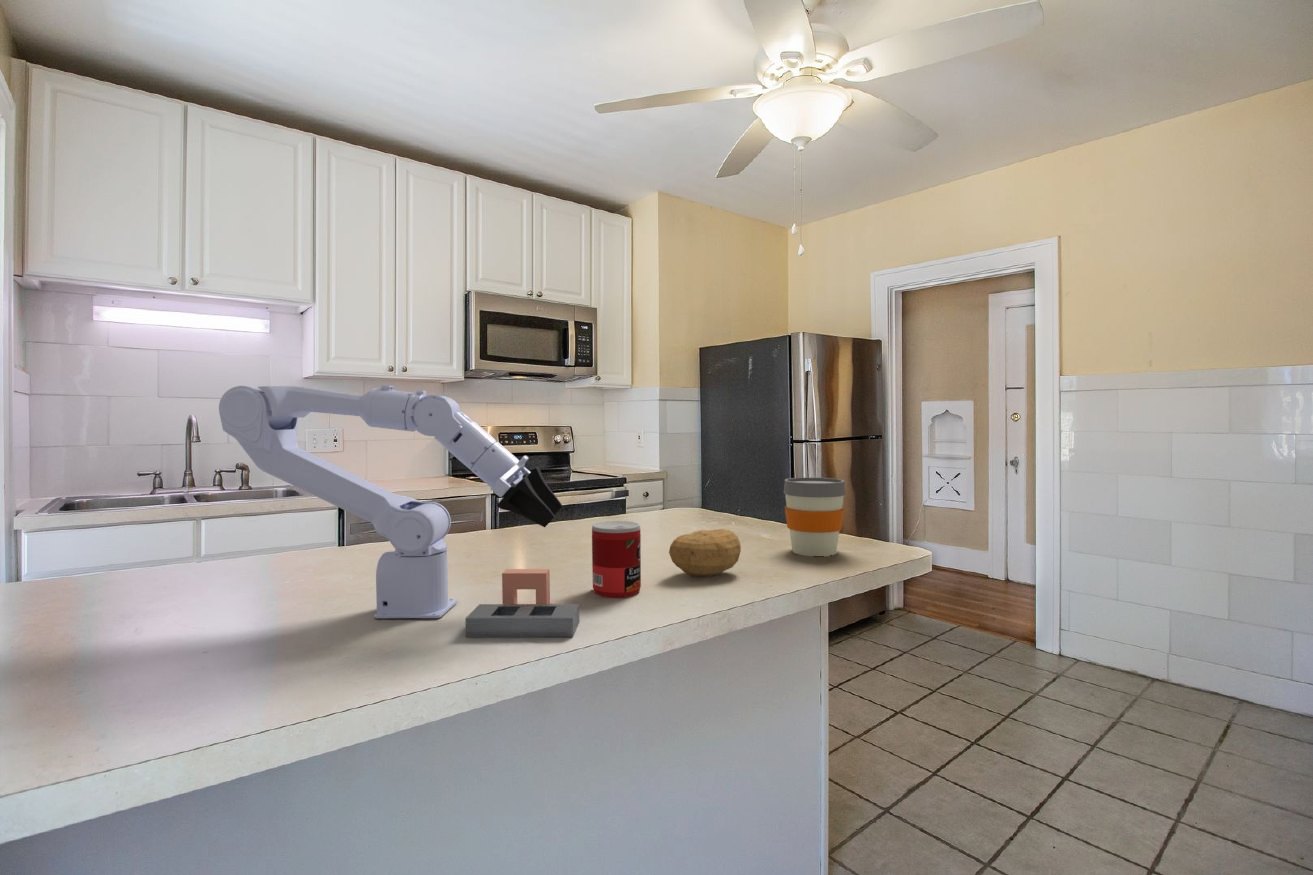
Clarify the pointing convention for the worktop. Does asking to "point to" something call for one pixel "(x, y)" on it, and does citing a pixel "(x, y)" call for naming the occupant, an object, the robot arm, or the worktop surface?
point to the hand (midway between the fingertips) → (554, 516)
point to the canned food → (616, 558)
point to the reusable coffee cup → (814, 514)
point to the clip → (526, 584)
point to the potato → (705, 552)
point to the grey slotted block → (523, 620)
